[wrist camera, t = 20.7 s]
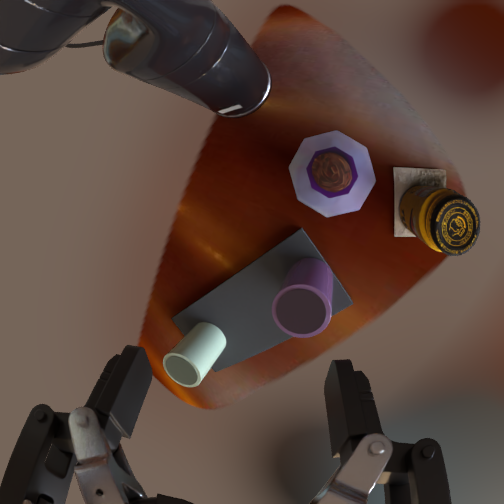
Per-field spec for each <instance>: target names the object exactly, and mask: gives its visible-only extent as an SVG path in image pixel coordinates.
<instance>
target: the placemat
mask: <svg viewBox="0 0 504 504" xmlns="http://www.w3.org/2000/svg"><path fill="white" fill-rule="evenodd" d="M304 258H315V259H319V260H321V261H323V262H324V263H325V264H327V263H326V261H325V260H324V258H323V257H322V255H321V254H320V252H319V251H318V250H317V248H316V247H315V245H314V244H313V242H312V241H311V240H310V238H309V237H308V235H307V234H306V233H305V231H304V230H303V228H301V229H299V230H298V231H296V232H295V233H294V234H292V235H291V236H289V237H288V238H286V239H285V240H284V241H282V242H281V243H279V244H278V245H276V246H275V247H274V248H272V249H271V250H269V251H268V252H266V253H265V254H264V255H262V256H261V257H259V258H258V259H256V260H255V261H254V262H252V263H251V264H249V265H248V266H246V267H245V268H243V269H242V270H241V271H239V272H238V273H236V274H235V275H233V276H232V277H231V278H229V279H228V280H226V281H225V282H223V283H222V284H220V285H219V286H218V287H216V288H215V289H213V290H212V291H210V292H209V293H207V294H206V295H204V296H203V297H202V298H200V299H199V300H197V301H196V302H194V303H193V304H191V305H190V306H189V307H187V308H186V309H184V310H183V311H181V312H180V313H178V314H177V315H175V316H174V317H173V318H171V319H172V320H173V322H174V323H175V324H176V325H177V327H178V328H179V329H180V331H181V332H182V333H183V334H184V336H185V335H186V334H187V333H188V332H189V331H190V330H191V329H192V328H193V327H194V326H195V325H196V324H198V323H201V322H207V323H211V324H213V325H215V326H216V327H218V328H219V329H220V330H221V331H222V333H223V334H224V336H225V339H226V346H225V349H224V350H223V352H222V353H221V354H220V356H219V357H218V359H217V360H216V361H215V363H214V364H213V366H212V367H211V368H212V369H213V370H214V371H215V372H217V371H219V370H222V369H224V368H227V367H229V366H231V365H234V364H236V363H238V362H240V361H243V360H245V359H247V358H249V357H252V356H254V355H256V354H258V353H260V352H262V351H265V350H267V349H269V348H271V347H273V346H275V345H277V344H279V343H281V342H283V341H285V340H287V339H289V338H291V337H293V336H291V335H289V334H287V333H285V332H284V331H282V330H281V329H280V328H279V327H278V326H277V324H276V323H275V321H274V319H273V316H272V303H273V300H274V298H275V296H276V294H277V292H278V291H279V289H280V287H281V285H282V283H283V281H284V279H285V278H286V276H287V274H288V272H289V270H290V268H291V267H292V266H293V265H294V264H295V263H296V262H297V261H299V260H301V259H304ZM327 265H328V264H327ZM328 267H329V265H328ZM329 268H330V267H329ZM330 269H331V268H330ZM331 271H332V270H331ZM332 274H333V279H334V280H333V298H332V313H331V316H333V315H334V314H336V313H338V312H340V311H341V310H343V309H345V308H347V307H348V306H350V305H352V304H353V302H352V300H351V298H350V297H349V295H348V294H347V292H346V291H345V289H344V288H343V286H342V285H341V283H340V282H339V280H338V279H337V277H336V276H335V274H334V273H333V271H332Z"/></svg>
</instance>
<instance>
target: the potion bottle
mask: <svg viewBox="0 0 504 504" xmlns="http://www.w3.org/2000/svg"><path fill="white" fill-rule="evenodd" d="M288 168H289V171H290V174H291V178H292V181H293V185H294V188H295V192H296V195H297V199H298V200H299V201H301V202H302V203H304V204H306V205H307V206H309V207H311V208H312V209H314V210H316V211H317V212H319V213H321V214H322V215H324V216H325V217H331V216H335V215H339V214H344V213H348V212H352V211H357V210H359V209H360V208H361V206H362V204H363V203H364V201H365V199H366V198H367V196H368V194H369V192H370V191H371V189H372V187H373V186H374V184H375V182H376V179H375V175H374V171H373V168H372V164H371V161H370V157H369V154H368V150H367V148H366V147H365V146H363V145H361V144H360V143H358V142H356V141H355V140H353V139H351V138H350V137H348V136H346V135H344V134H343V133H341V132H339V131H337V130H336V131H332V132H328V133H324V134H320V135H316V136H312V137H309V138H305V139H304V140H303V142H302V144H301V146H300V147H299V149H298V151H297V153H296V155H295V156H294V158H293V160H292V162H291V164H290V166H289V167H288Z"/></svg>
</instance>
